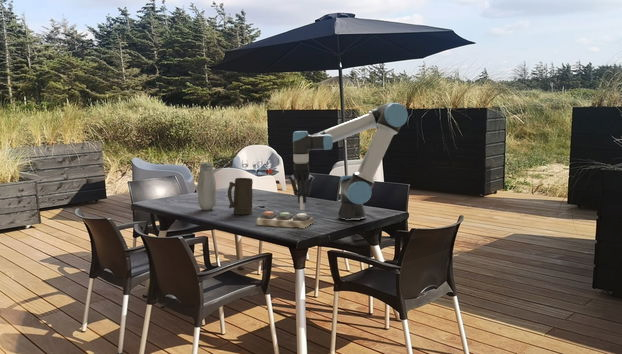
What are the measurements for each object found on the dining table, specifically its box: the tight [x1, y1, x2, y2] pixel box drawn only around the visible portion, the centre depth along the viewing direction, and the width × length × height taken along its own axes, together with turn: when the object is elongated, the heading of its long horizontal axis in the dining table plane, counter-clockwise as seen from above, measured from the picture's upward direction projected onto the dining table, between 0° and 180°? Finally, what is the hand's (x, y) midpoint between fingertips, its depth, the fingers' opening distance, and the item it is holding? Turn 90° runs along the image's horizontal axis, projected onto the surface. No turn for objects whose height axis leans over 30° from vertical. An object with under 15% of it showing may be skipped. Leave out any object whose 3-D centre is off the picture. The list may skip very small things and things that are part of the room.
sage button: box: [279, 211, 291, 217], centre depth 260 cm, size 5×5×2 cm
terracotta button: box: [263, 210, 275, 216], centre depth 263 cm, size 5×5×2 cm
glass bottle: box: [197, 161, 217, 211], centre depth 300 cm, size 10×10×28 cm
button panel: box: [256, 212, 314, 229], centre depth 260 cm, size 26×12×4 cm, turn 70°
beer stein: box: [227, 177, 254, 215], centre depth 287 cm, size 15×11×20 cm
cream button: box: [296, 212, 307, 218], centre depth 257 cm, size 5×5×2 cm
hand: (302, 209), depth 257 cm, fingers closed
